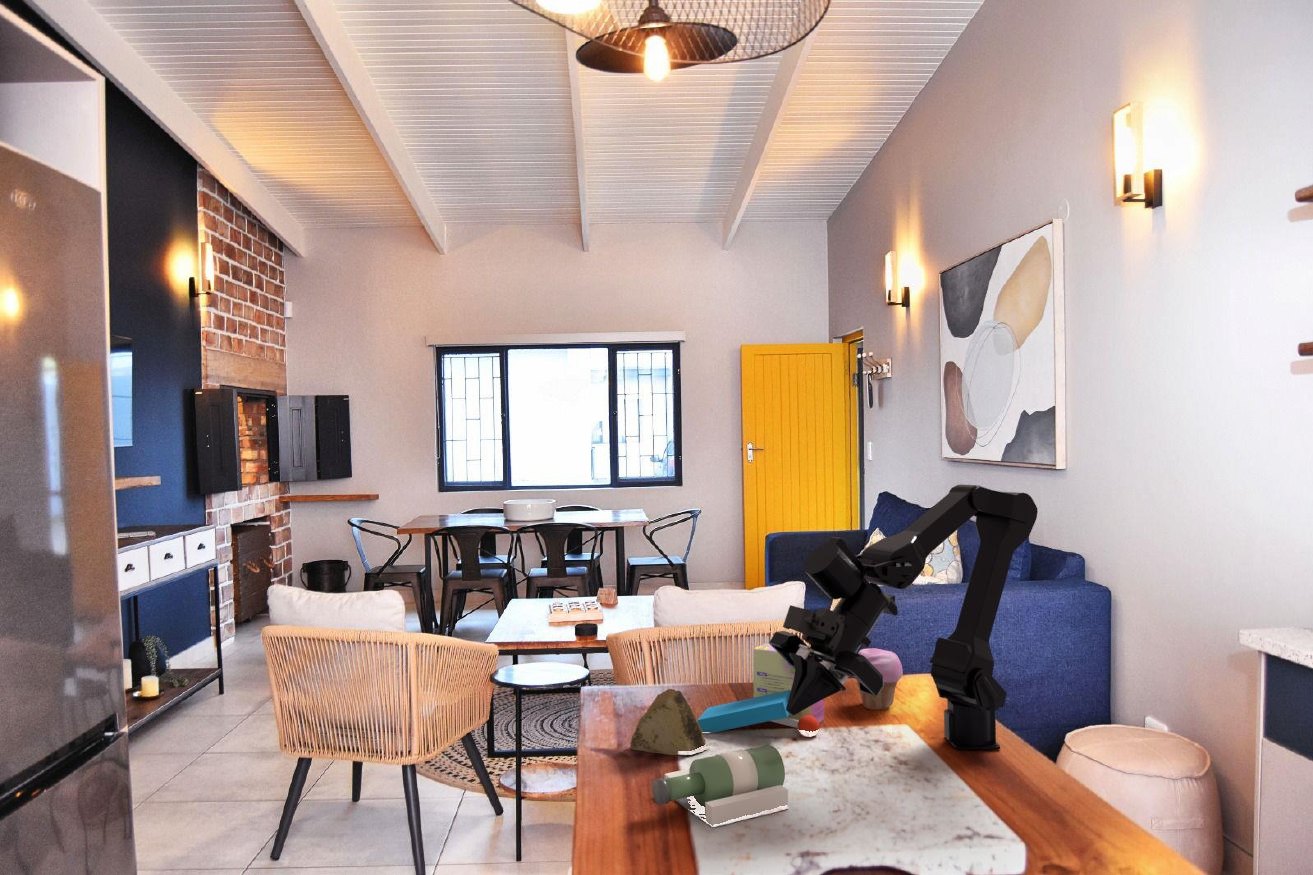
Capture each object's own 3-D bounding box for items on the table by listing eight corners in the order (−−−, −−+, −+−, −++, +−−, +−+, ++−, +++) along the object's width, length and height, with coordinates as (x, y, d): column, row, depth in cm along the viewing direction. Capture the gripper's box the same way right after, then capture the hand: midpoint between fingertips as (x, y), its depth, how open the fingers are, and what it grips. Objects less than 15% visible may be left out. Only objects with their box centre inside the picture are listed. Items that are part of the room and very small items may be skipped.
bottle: (769, 735, 116) (655, 757, 109) (790, 773, 112) (673, 800, 105) (755, 761, 120) (643, 784, 112) (775, 799, 115) (660, 826, 108)
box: (825, 720, 145) (824, 648, 146) (812, 729, 141) (810, 655, 141) (768, 710, 151) (766, 641, 151) (753, 719, 146) (752, 648, 146)
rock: (610, 738, 131) (657, 743, 124) (630, 684, 136) (677, 687, 129) (656, 767, 137) (703, 774, 130) (673, 714, 141) (720, 718, 134)
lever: (709, 763, 139) (819, 742, 134) (697, 720, 140) (805, 697, 135) (720, 749, 146) (824, 728, 141) (708, 707, 147) (812, 685, 141)
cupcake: (849, 698, 157) (848, 642, 157) (899, 699, 156) (898, 643, 156) (853, 713, 148) (852, 654, 149) (906, 715, 147) (905, 655, 147)
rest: (735, 777, 121) (735, 759, 121) (788, 809, 110) (787, 789, 110) (664, 793, 116) (664, 773, 116) (712, 828, 105) (712, 807, 105)
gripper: (778, 575, 129) (715, 661, 124) (863, 593, 112) (794, 694, 107) (823, 622, 132) (764, 708, 127) (911, 646, 116) (848, 746, 111)
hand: (789, 712), depth 118 cm, fingers closed
